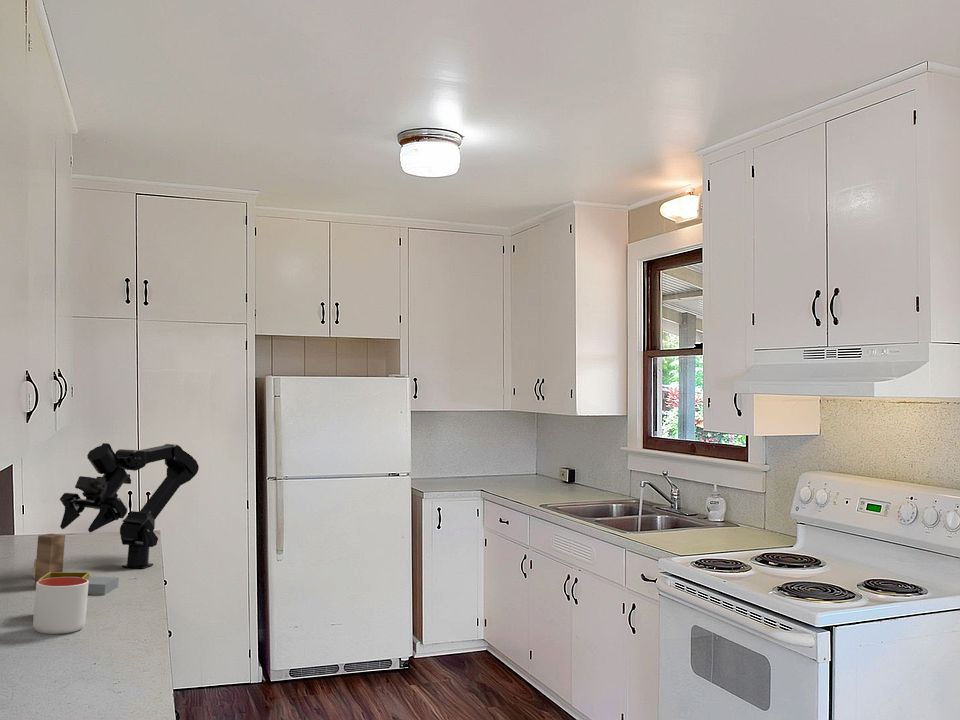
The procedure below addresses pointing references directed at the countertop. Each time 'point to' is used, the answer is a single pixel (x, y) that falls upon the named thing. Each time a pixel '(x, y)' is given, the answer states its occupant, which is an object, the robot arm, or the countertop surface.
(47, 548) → the walnut block
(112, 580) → the grey base block
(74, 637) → the countertop surface
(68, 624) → the cup
